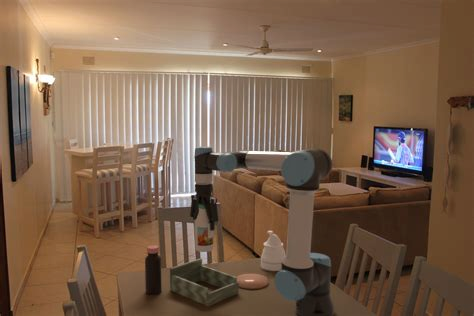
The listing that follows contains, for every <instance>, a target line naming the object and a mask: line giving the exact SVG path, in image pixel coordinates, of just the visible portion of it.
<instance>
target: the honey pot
mask: <svg viewBox="0 0 474 316" xmlns="http://www.w3.org/2000/svg"><path fill="white" fill-rule="evenodd" d="M267 235H269V237H268V239H267V241H265V242H263V244H262V245H263V246H264V248H263V249H262V254H261V256H260V267H261V269H263V270H266V271H271V272H279V271H281V263H282V259H283V258H284V257H285V256H286V252H285V248H284V242H282V241H281V239H280V237H279V236H278V235H277V234H275V233H274V231H273V230H268V231H267Z"/></svg>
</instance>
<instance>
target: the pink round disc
mask: <svg viewBox="0 0 474 316" xmlns="http://www.w3.org/2000/svg"><path fill="white" fill-rule="evenodd" d="M236 277H237V282H239V288H241V289H247V290H257V289H263V288H265V287H266V286H268V284H269V280H268V279H269V278H268V277H266V276H265V275H263V274H259V273H243V274H239V275H237V276H236Z"/></svg>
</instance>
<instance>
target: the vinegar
mask: <svg viewBox="0 0 474 316" xmlns="http://www.w3.org/2000/svg"><path fill="white" fill-rule="evenodd" d="M159 248H160V247H159V245H156V244H155V245H148V246H146V252H147V253H146V254H147V255H146V256H145V258H144V266H145V267H144V268H145V269H144V271H145V272H144V273H145V274H144V275H145V276H144V277H145V293H146V294H147V295H158V294H160V293H162V257H161V256H160V255H159V251H160V249H159Z"/></svg>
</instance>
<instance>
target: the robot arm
mask: <svg viewBox="0 0 474 316" xmlns="http://www.w3.org/2000/svg"><path fill="white" fill-rule="evenodd" d="M193 158H194V183H195V184H194V192H195V194H191V195H190V199H191V203H190V213H189V217H190V218H192V219H193V227H195V222H196V218H197V216H198V213H199V207H198V205H199V204H202V205H204V207H205V209H206V212H207V216H208V219H209V222H208V238H213V239H214V238H215V236H214V234H215V230H216V228H215V224H216V223H217V222H219V213H218V205H217V202H218V198H217V197H213V195H212V193H213V187H214V185H213V173H214V172H213V171H215V172H222V173H231V172H234V170H239V169H249V170H262V171H263V170H265V171H267V170H268V171H277V172H278V171H279V172H280V173H281V177H282V178H283V179H284V182H285V183H286V184H285V188H286V189H287V190H288V191H289V205H288V218H287V219H288V220H287V235H286V236H287V237H286V239H287V240H286V252H285V255H286V256H285V257H284V258H283V259H282V263H281V270H280V271H277V273H276V274H275V276H274V286H275V289H276V291H277V292H278V294H279V295H280V296H281V297H282V298H283V299H284V300H286V301H289V302H295V305H294V312H295V314H296V315H297V316H335V306H334V303H333V300H332V299H333V298H332V296H331V275H332V273H331V272H332V263H331V262H332V260H331V258H330V257H329V256H328V255H326V254H323V253H319V252H311V250H312V249H311V248H312V246H311V245H312V234H313V233H312V231H313V221H314V219H313V217H314V206H315V205H314V203H315V194H316V193H317V192H318V191H319V190H320V183H321V180H323V179H325V178H327V177H328V176H329V175H330V173H331V172H332V169H333V160H332V156H331V155H330V154H329V153H328V151H326V150H324V149H321V148H311V149H299V150H296V151H293V152H292V151H264V150H263V151H261V150H259V151H258V150H249V149H242V150H237V151H226V152H215V151H213V147H212V146H208V145H207V146H196V147H195V149H194V157H193ZM208 204H209V205H208ZM211 219H212V220H211Z"/></svg>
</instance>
